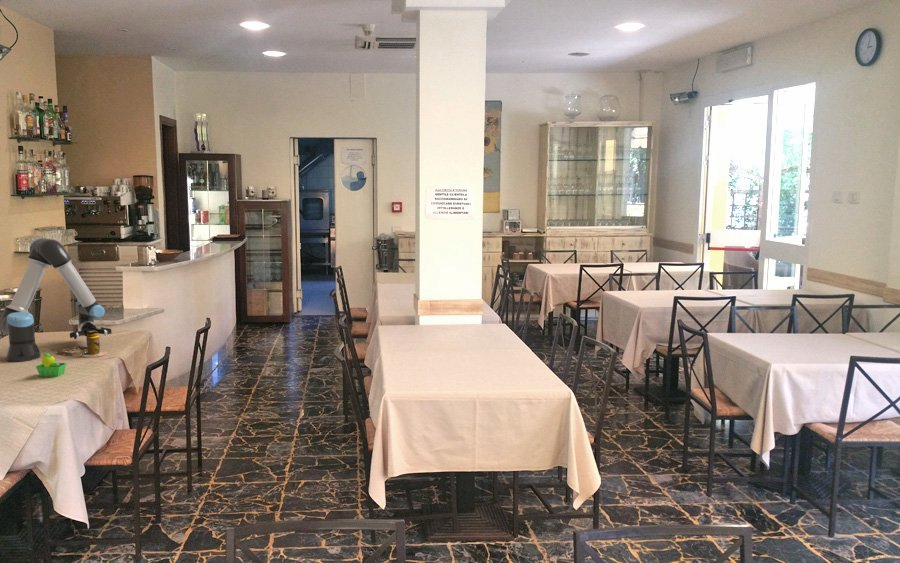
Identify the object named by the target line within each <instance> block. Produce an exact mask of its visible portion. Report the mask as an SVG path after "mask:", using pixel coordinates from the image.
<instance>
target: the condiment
mask: <svg viewBox="0 0 900 563" xmlns="http://www.w3.org/2000/svg"><path fill="white" fill-rule="evenodd" d="M85 338H86V347H87V352H88V353H82V354H83V355H84V356H89V355H97V354H102V353H101V352H100V351H101V344H100V336H99V334H98V331H96V330H92V331H88V332H87V336H85ZM82 354H81V355H82Z"/></svg>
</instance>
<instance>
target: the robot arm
mask: <svg viewBox="0 0 900 563" xmlns="http://www.w3.org/2000/svg"><path fill="white" fill-rule="evenodd" d="M28 250H29V255H28V257H27V261H28V265H27V267H26V269H25V272H24V274H23V276H22V278H21V280H20V281H19V282H20V283H19V284H18V287H17V290H16V291H15V293H14V296H13V298H12V299H11V302H10V304H8V305H7V306H5V308H4V310H3V311H2V313H0V332H1V333H3V334H4V335H8V343H9V347H8V350H7V354H6V361H7V360H8V362H11V361H19V362H26V361H25V360H28V361H32V360H31V359H33V360H37V359H39V358H41V351H40V349H39V347H38V345H37V343H36V335H35V334H36V333H35V322H34V321H35V319H34V315H33V314H32V313H30V311H29V309H30V307H31V304H32V301H33V300H34V297H35V295H36V293H37V290H38V288H39V286H40V284H41V281H42V279H43V277H44V275H45V273H46V270H47V269H48V268H51V266H52V267H53V269H56V270H57V271H58V273H59V274H60V276H62V279H63V280H64V281H65V282H66V284H67V285H68V287H69V289H70V291H71V292H72V293H73V295H74V296H75V297H76V299H77V301H76V307H77V315H78V328H79V329H77V328H76V329H75V330H73V331H72V332H70V333H69V338H70V339H72V338H73V339H74V340H76V339H77V341H79V340H80V337H82V336H84V337H87V332H88V331H92V330H96V331H98V335H100V334H101V335H104V337H105V338H106V337H108V335H111V334H112V333H113V332H112V328H108V327H104V326H101V327H99V328H98V327H97V326H96V325H95V322H94V320H95V319H96V320H97V319H98V320H99V319H101V318H103V316H104V315H105V313H106V311H105V308H104V307H103V306H102V305H100V304H99V302H98V301H97V300H96V298H95V296H94V295H93V293H92V292H91V290H90V288H89V287H88V285H87V284H86V283H85V281H84V280H83V278H82V277H81V275H80V274H79V272H78V271H77V268H76V267H75V266H74V264H73V263H72V257H71V256H70V254H69V252H68V251H67V250H66V248H65V247H64V245H63V244H62V243H61V242H60V241H58V240H56V239H53V238H51V239H50V238H45V237H41V238H37V239H35V240H34V241H32V242H31V243H30V246H29V249H28ZM36 358H37V359H36Z"/></svg>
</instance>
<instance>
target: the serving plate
mask: <svg viewBox="0 0 900 563" xmlns="http://www.w3.org/2000/svg"><path fill="white" fill-rule="evenodd" d="M100 352H101V353H102V354H97V355H89V356H84V355H83V354H81V358H84V357H94V358H100V356H101V357H104V356H106V355H107V354H108V352H107V351H105V350H100ZM86 353H88V352H86Z"/></svg>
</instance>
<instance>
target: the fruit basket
mask: <svg viewBox="0 0 900 563" xmlns="http://www.w3.org/2000/svg"><path fill="white" fill-rule="evenodd" d="M55 361H56V358H55V357H54V356H53V355H50V353H45V354H43V355H42V356H41V364H38V365H36V366H35V368H36V370H37V373H38V374H39V377H52V378H53V377H56V378H57V377H61V376H62V375H64V374H65V372H66V371H65V370H66V366H67V362H58V361H56V362H55Z"/></svg>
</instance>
